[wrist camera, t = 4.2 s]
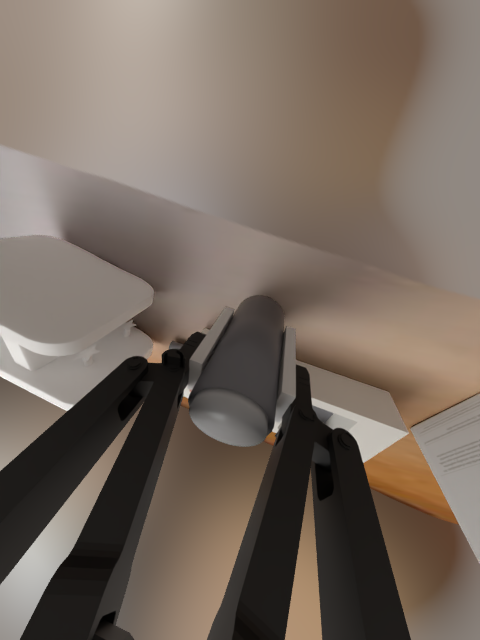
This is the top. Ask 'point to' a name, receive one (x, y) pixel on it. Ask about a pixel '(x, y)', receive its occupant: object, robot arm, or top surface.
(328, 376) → the power strip
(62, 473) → the robot arm
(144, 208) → the top surface
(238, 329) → the plug
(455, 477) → the supplement box
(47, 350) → the cable organizer
